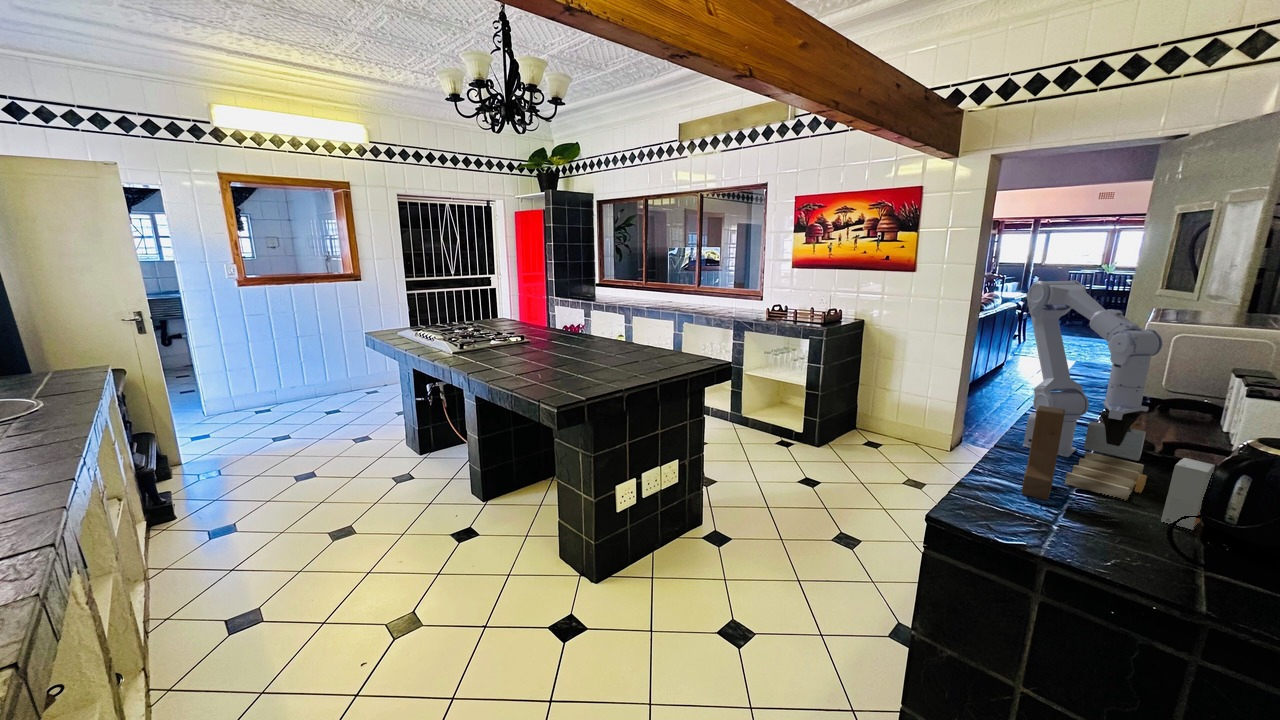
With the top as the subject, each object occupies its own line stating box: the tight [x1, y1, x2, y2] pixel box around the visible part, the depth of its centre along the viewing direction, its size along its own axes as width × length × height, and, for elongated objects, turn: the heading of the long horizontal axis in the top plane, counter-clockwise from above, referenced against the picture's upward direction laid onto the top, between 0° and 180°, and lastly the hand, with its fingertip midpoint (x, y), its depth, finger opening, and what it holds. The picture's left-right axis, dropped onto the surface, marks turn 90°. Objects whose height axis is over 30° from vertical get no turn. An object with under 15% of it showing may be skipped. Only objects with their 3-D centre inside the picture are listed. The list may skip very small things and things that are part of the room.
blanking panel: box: [1083, 420, 1147, 461], centre depth 110 cm, size 9×3×6 cm, turn 39°
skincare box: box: [1160, 457, 1216, 531], centre depth 92 cm, size 6×4×12 cm
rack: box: [1064, 451, 1148, 501], centre depth 110 cm, size 11×18×3 cm, turn 128°
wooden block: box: [1021, 406, 1065, 501], centre depth 105 cm, size 9×4×18 cm, turn 137°
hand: (1114, 442), depth 110 cm, fingers closed on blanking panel, 3 cm apart
